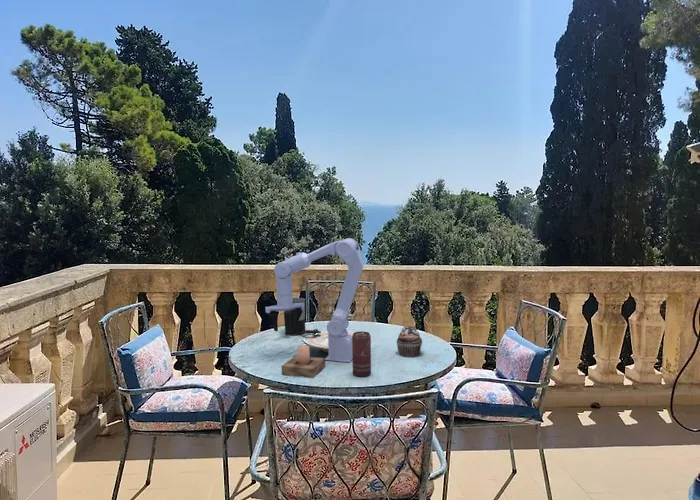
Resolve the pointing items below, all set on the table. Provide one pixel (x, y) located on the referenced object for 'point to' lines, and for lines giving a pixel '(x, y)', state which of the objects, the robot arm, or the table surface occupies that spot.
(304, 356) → the peg
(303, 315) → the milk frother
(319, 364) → the socket block
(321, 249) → the robot arm
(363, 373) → the can
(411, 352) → the cupcake
